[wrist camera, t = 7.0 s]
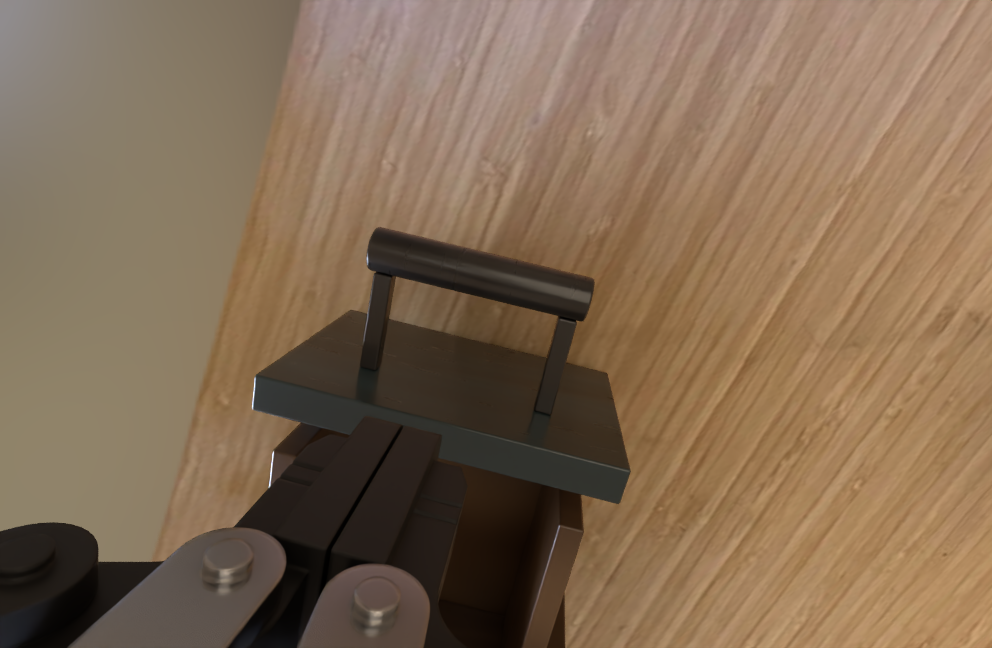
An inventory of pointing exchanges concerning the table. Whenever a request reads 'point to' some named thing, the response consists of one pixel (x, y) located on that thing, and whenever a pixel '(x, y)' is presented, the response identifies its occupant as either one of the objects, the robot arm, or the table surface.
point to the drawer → (471, 425)
